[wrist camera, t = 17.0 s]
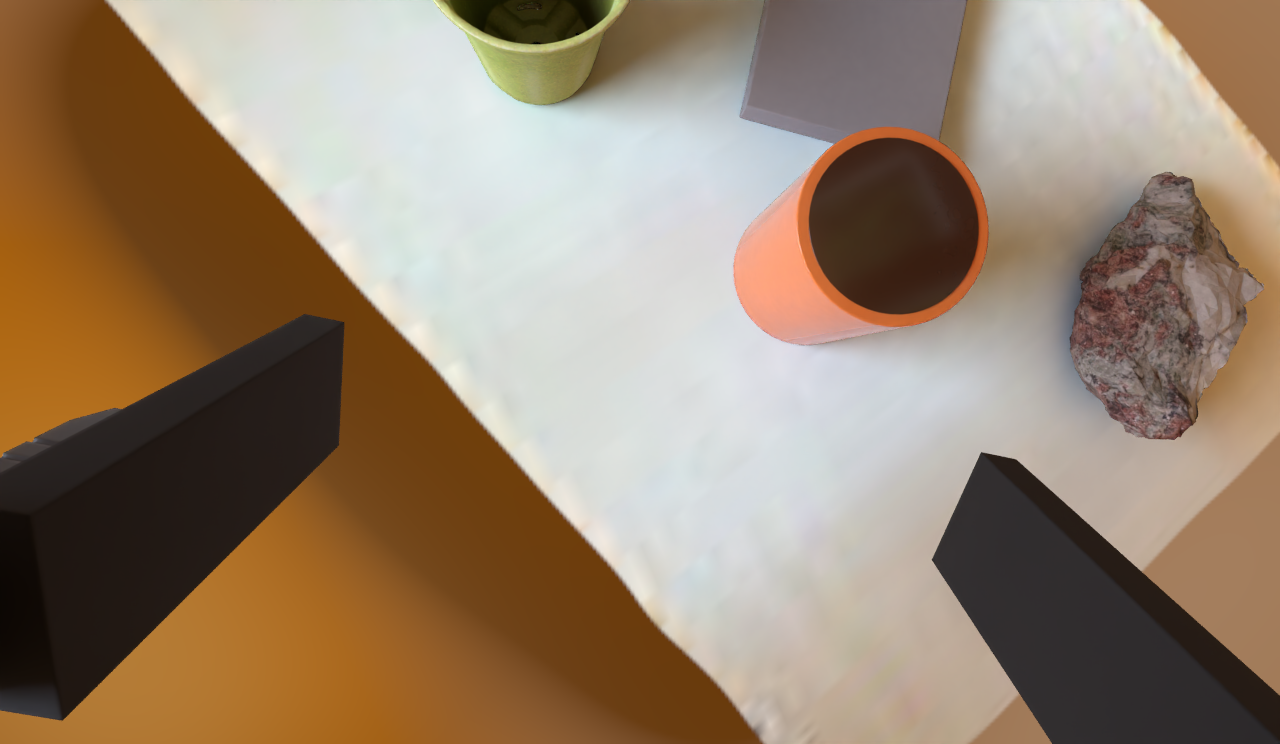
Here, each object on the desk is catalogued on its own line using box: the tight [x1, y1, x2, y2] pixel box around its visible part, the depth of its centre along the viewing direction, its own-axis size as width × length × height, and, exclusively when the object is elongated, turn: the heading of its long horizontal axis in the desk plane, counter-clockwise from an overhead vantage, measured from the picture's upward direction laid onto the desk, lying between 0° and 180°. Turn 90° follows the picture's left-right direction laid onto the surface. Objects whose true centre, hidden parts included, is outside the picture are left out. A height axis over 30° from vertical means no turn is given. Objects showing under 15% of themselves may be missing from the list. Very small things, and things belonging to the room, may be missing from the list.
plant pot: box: [433, 0, 630, 105], centre depth 30 cm, size 9×9×9 cm
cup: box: [734, 127, 988, 345], centre depth 30 cm, size 8×8×10 cm
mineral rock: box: [1070, 172, 1264, 440], centre depth 35 cm, size 15×8×4 cm, turn 149°
